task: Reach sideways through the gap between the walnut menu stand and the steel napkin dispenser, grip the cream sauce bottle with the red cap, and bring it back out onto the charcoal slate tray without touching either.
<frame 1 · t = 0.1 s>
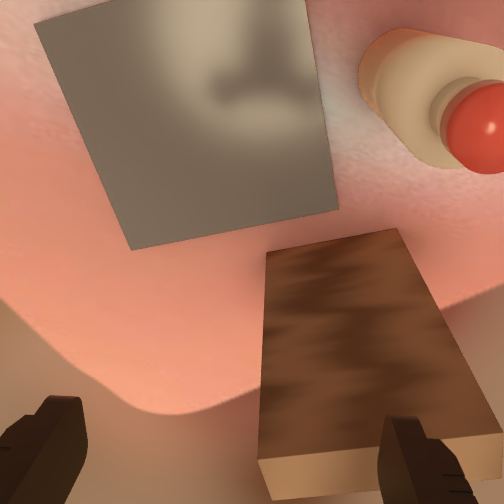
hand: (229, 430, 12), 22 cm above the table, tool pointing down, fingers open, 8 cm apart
sauce bottle: (398, 72, 28), on the table
slate tray: (201, 121, 30), on the table
menu stand: (332, 257, 34), on the table
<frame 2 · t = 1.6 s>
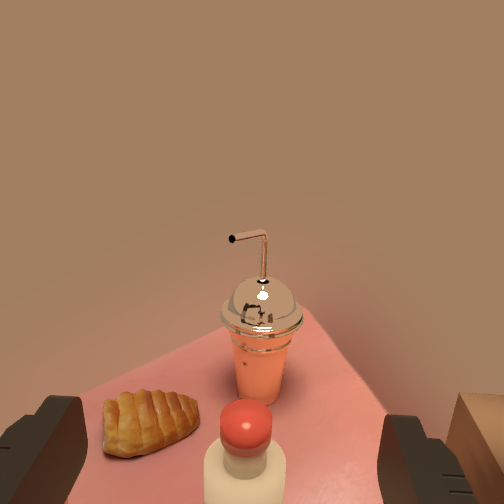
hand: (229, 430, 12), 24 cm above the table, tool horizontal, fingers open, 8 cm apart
pastry: (145, 431, 44), on the table
cup with straw: (256, 393, 49), on the table
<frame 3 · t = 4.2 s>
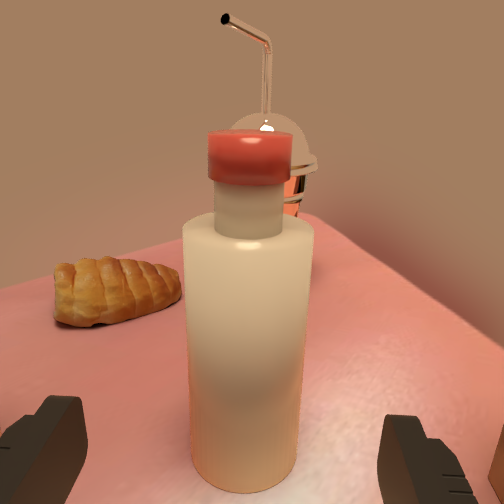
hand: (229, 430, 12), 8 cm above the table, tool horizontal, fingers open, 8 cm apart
pastry: (111, 307, 34), on the table
sauce bottle: (244, 447, 21), on the table
cup with straw: (258, 279, 39), on the table
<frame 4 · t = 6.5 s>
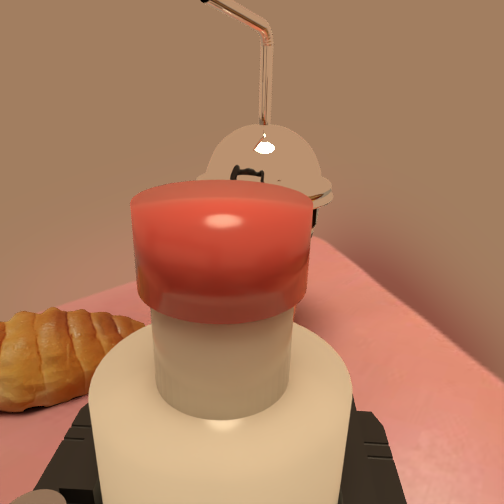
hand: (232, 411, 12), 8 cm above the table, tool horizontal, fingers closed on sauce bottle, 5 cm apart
pastry: (58, 375, 26), on the table
cup with straw: (255, 333, 31), on the table
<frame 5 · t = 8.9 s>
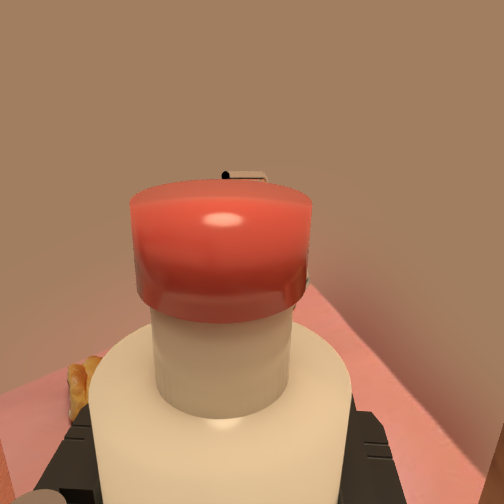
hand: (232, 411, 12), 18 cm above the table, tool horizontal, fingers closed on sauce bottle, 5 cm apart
pastry: (117, 399, 39), on the table
cup with straw: (255, 370, 42), on the table
when the fingers open (10 cm above the table, at t = 11.7 s): sauce bottle drops 1 cm, resting on slate tray.
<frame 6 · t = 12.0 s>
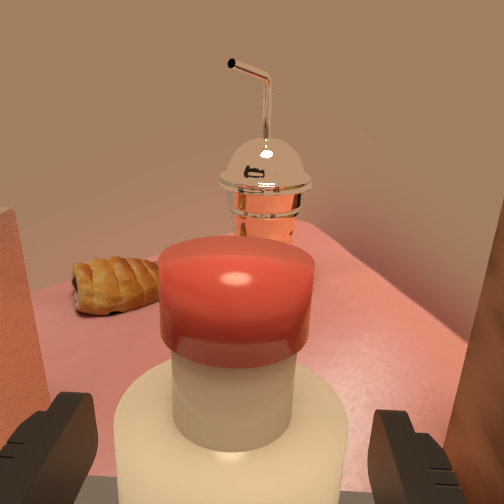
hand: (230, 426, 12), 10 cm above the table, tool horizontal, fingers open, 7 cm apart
pastry: (120, 299, 40), on the table
cup with straw: (259, 283, 44), on the table
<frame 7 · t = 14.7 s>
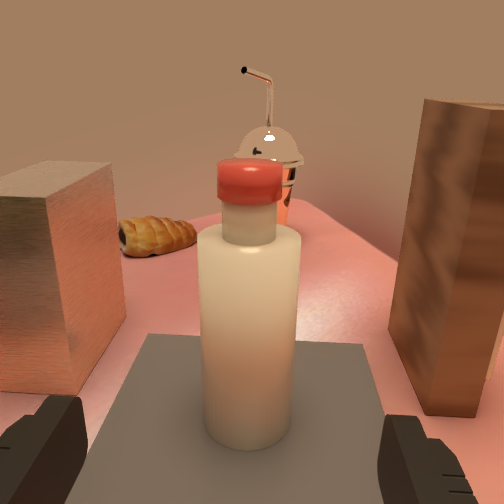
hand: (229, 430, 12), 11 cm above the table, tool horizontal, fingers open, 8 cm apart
pastry: (153, 248, 53), on the table
sauce bottle: (247, 416, 25), point 1 cm above the table, touching slate tray
slate tray: (246, 429, 26), on the table
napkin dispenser: (72, 348, 33), on the table
menu stand: (425, 366, 32), on the table
cup with straw: (263, 240, 56), on the table
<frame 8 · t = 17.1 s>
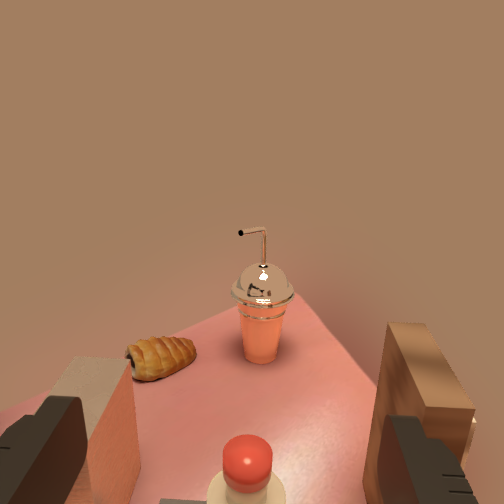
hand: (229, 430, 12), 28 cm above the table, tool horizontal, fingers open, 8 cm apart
pastry: (157, 366, 60), on the table
cup with straw: (258, 356, 62), on the table
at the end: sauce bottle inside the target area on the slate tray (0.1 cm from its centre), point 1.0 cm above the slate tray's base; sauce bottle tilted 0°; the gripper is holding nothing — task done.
